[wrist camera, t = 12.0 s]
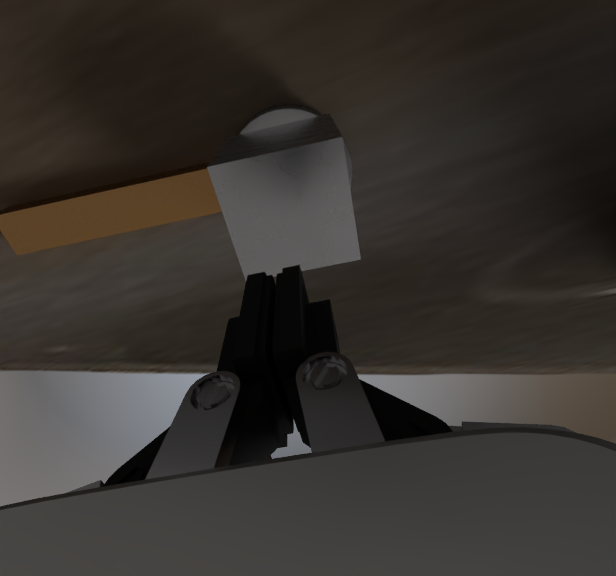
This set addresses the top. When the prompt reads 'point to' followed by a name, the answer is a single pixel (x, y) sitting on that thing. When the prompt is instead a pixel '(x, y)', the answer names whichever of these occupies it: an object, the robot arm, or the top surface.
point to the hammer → (130, 200)
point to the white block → (287, 196)
